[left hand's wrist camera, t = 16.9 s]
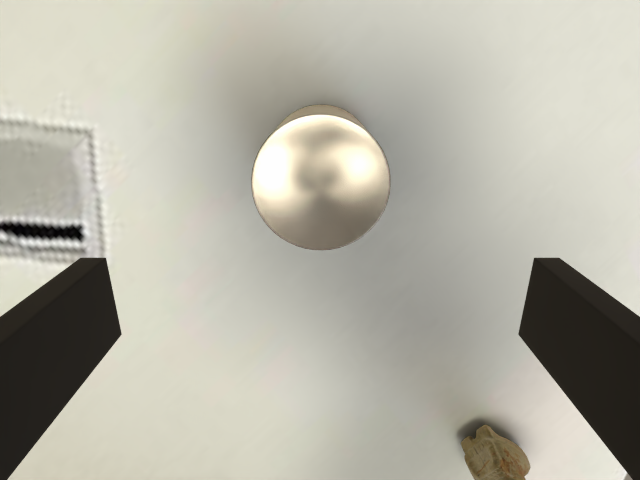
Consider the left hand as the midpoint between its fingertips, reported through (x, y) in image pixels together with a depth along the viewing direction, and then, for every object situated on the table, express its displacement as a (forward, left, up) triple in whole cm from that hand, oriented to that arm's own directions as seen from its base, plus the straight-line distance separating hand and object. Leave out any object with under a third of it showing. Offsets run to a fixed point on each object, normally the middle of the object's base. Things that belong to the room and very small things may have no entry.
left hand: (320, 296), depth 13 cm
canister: (0, 0, -22) cm, 22 cm away
